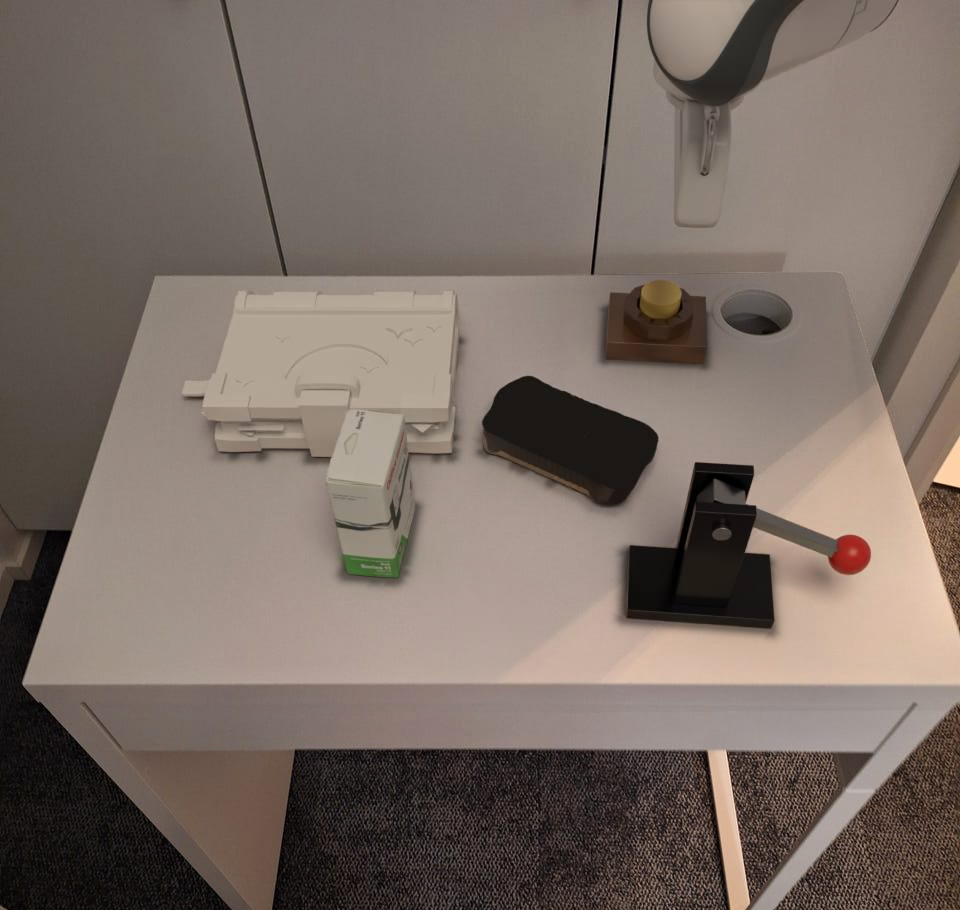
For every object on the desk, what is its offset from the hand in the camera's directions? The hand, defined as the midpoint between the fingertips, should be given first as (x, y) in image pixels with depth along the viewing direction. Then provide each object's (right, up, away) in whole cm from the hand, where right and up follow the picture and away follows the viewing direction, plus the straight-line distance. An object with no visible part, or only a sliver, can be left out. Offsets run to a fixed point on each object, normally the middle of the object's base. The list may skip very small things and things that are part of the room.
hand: (686, 213), depth 86 cm
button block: (-1, -7, +13) cm, 14 cm away
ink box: (-28, -30, -1) cm, 41 cm away
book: (-35, -14, +10) cm, 39 cm away
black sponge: (-11, -21, +4) cm, 24 cm away
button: (-1, -5, +10) cm, 11 cm away
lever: (+4, -31, -12) cm, 34 cm away
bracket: (0, -35, -5) cm, 35 cm away
